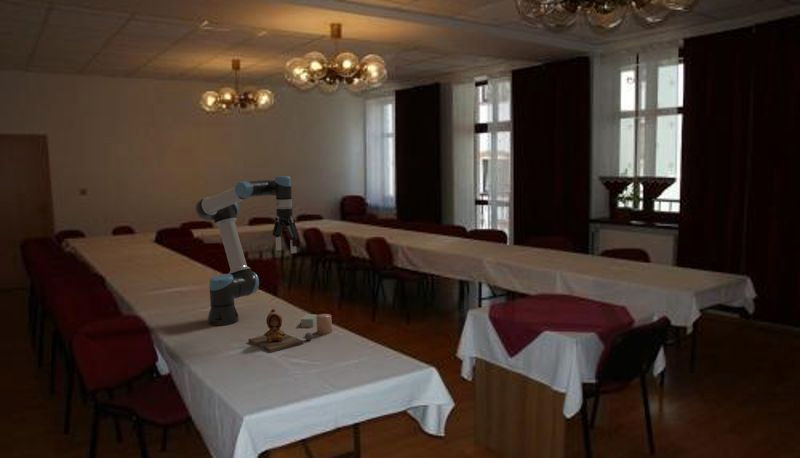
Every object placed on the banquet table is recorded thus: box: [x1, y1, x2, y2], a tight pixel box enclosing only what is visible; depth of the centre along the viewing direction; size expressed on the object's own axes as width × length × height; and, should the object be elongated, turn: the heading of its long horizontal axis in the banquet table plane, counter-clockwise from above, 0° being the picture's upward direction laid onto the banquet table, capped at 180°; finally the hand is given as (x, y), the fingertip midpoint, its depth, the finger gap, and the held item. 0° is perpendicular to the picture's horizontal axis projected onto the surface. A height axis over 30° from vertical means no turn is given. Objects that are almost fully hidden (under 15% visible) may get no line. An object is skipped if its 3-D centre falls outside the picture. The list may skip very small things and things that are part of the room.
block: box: [300, 313, 318, 328], centre depth 291 cm, size 6×9×4 cm, turn 176°
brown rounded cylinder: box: [316, 313, 333, 336], centre depth 276 cm, size 7×7×8 cm
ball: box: [304, 332, 314, 341], centre depth 264 cm, size 4×4×4 cm
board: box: [247, 333, 304, 353], centre depth 261 cm, size 20×16×2 cm
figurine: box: [263, 308, 286, 343], centre depth 261 cm, size 10×8×15 cm
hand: (286, 251), depth 286 cm, fingers open, 13 cm apart
